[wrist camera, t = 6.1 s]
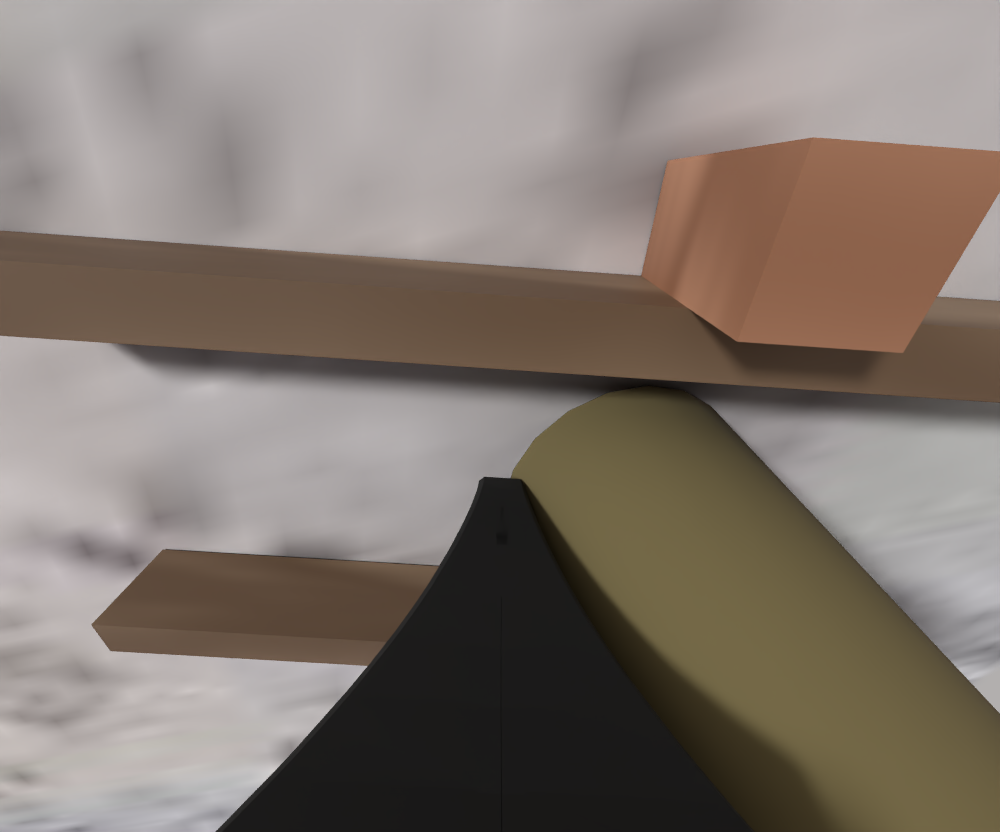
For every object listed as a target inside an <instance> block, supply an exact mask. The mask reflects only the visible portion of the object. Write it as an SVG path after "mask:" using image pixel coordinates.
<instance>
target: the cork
mask: <svg viewBox="0 0 1000 832" xmlns="http://www.w3.org/2000/svg"><path fill="white" fill-rule="evenodd" d="M511 479H521V480H522V482H523V484H524V485H525V488H526V491H527V495H528V498H529V501H530V504H531V506H532V509H533V512H534V514H535V517H536V519H537V521H538V524H539V526H540V528H541V531H542V533H543V535H544V537H545V539H546V541H547V543H548V545H549V548H550V550H551V552H552V554H553V556H554V558H555V560H556V562H557V564H558V566H559V567H560V569H561V571H562V573H563V575H564V577H565V579H566V580H567V582H568V584H569V586H570V587H571V589H572V591H573V593H574V594H575V596H576V598H577V600H578V601H579V603H580V605H581V606H582V608H583V610H584V611H585V613H586V614H587V616H588V618H589V619H590V621H591V622H592V624H593V626H594V627H595V629H596V630H597V632H598V633H599V635H600V636H601V638H602V639H603V641H604V642H605V644H606V645H607V647H608V648H609V650H610V651H611V652H612V654H613V655H614V657H615V658H616V660H617V661H618V663H619V664H620V665H621V667H622V668H623V670H624V671H625V673H626V674H627V675H628V677H629V678H630V680H631V681H632V682H633V683H634V685H635V686H636V687H637V689H638V690H639V691H640V693H641V694H642V695H643V696H644V698H645V699H646V700H647V702H648V703H649V704H650V706H651V707H652V708H653V709H654V711H655V712H656V713H657V715H658V716H659V717H660V719H661V720H662V721H663V722H664V724H665V725H666V726H667V728H668V729H669V730H670V732H671V733H672V734H673V735H674V737H675V738H676V739H677V741H678V742H679V743H680V744H681V746H682V747H683V748H684V749H685V750H686V752H687V753H688V754H689V755H690V756H691V758H692V759H693V760H694V761H695V762H696V764H697V765H698V766H699V767H700V769H701V770H702V771H703V772H704V773H705V775H706V776H707V777H708V778H709V779H710V781H711V782H712V783H713V784H714V785H715V787H716V788H717V789H718V790H719V791H720V793H721V794H722V795H723V796H724V797H725V798H726V800H727V801H728V802H729V803H730V804H731V805H732V806H733V808H734V809H735V810H736V811H737V812H738V813H739V814H740V816H741V817H742V818H743V819H744V820H745V821H746V822H747V824H748V825H749V826H750V827H751V828H752V829H753V830H754V832H1000V713H999V712H998V711H997V710H996V709H995V708H994V707H993V706H992V705H991V704H990V703H989V702H988V701H987V700H986V699H985V698H984V697H983V695H982V694H981V693H980V692H979V691H978V690H977V689H976V688H975V687H974V686H973V685H972V684H971V683H970V682H969V680H968V679H967V678H966V677H965V676H964V675H963V674H962V673H961V672H960V671H959V670H958V669H957V668H956V667H955V666H954V664H953V663H952V662H951V661H950V660H949V659H948V658H947V657H946V656H945V655H944V654H943V653H942V652H941V651H940V650H939V649H938V647H937V646H936V645H935V644H934V643H933V642H932V641H931V640H930V639H929V638H928V637H927V636H926V635H925V634H924V633H923V632H922V630H921V629H920V628H919V627H918V626H917V625H916V624H915V623H914V622H913V621H912V620H911V619H910V618H909V617H908V616H907V614H906V613H905V612H904V611H903V610H902V609H901V608H900V607H899V606H898V605H897V604H896V603H895V602H894V601H893V600H892V599H891V597H890V596H889V595H888V594H887V593H886V592H885V591H884V590H883V589H882V588H881V587H880V586H879V585H878V584H877V583H876V582H875V580H874V579H873V578H872V577H871V576H870V575H869V574H868V573H867V572H866V571H865V570H864V569H863V568H862V567H861V566H860V564H859V563H858V562H857V561H856V560H855V559H854V558H853V557H852V556H851V555H850V554H849V553H848V552H847V551H846V550H845V549H844V547H843V546H842V545H841V544H840V543H839V542H838V541H837V540H836V539H835V538H834V537H833V536H832V535H831V534H830V533H829V532H828V530H827V529H826V528H825V527H824V526H823V525H822V524H821V523H820V522H819V521H818V520H817V519H816V518H815V517H814V516H813V514H812V513H811V512H810V511H809V510H808V509H807V508H806V507H805V506H804V505H803V504H802V503H801V502H800V501H799V500H798V499H797V497H796V496H795V495H794V494H793V493H792V492H791V491H790V490H789V489H788V488H787V487H786V486H785V485H784V484H783V483H782V482H781V480H780V479H779V478H778V477H777V476H776V475H775V474H774V473H773V472H772V471H771V470H770V469H769V468H768V467H767V466H766V465H765V463H764V462H763V461H762V460H761V459H760V458H759V457H758V456H757V455H756V454H755V453H754V452H753V451H752V450H751V449H750V447H749V446H748V445H747V444H746V443H745V442H744V441H743V440H742V439H741V438H740V437H739V436H738V435H737V434H736V433H735V432H734V430H733V429H732V428H731V427H730V426H729V425H728V424H727V423H726V422H725V421H724V420H723V419H722V418H721V417H720V416H719V415H718V413H717V412H716V411H715V410H714V409H713V408H712V407H711V406H710V405H708V404H706V403H705V402H703V401H701V400H699V399H698V398H696V397H694V396H693V395H691V394H689V393H688V392H686V391H684V390H677V389H669V388H662V387H655V386H643V387H638V388H632V389H626V390H621V391H615V392H609V393H606V394H604V395H602V396H600V397H598V398H596V399H593V400H591V401H589V402H587V403H585V404H583V405H581V406H579V407H576V408H574V409H572V410H570V411H568V412H567V413H566V414H564V415H563V416H562V417H561V418H560V419H558V420H557V421H556V422H555V423H553V424H552V425H551V426H550V427H549V428H547V429H546V430H545V431H544V432H543V433H541V434H540V435H539V436H538V437H537V438H535V440H534V441H533V442H532V444H531V445H530V447H529V448H528V450H527V451H526V452H525V454H524V455H523V457H522V458H521V460H520V461H519V463H518V464H517V465H516V467H515V468H514V470H513V472H512V476H511Z"/></svg>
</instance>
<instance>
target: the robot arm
mask: <svg viewBox="0 0 1000 832" xmlns="http://www.w3.org/2000/svg"><path fill="white" fill-rule="evenodd" d="M216 832H754V830H753V829H752V828H751V827H750V826H749V825H748V824H747V822H746V821H745V820H744V819H743V818H742V817H741V816H740V814H739V813H738V812H737V811H736V810H735V809H734V808H733V806H732V805H731V804H730V803H729V802H728V801H727V800H726V798H725V797H724V796H723V795H722V794H721V793H720V791H719V790H718V789H717V788H716V787H715V785H714V784H713V783H712V782H711V781H710V779H709V778H708V777H707V776H706V775H705V773H704V772H703V771H702V770H701V769H700V767H699V766H698V765H697V764H696V762H695V761H694V760H693V759H692V758H691V756H690V755H689V754H688V753H687V752H686V750H685V749H684V748H683V747H682V746H681V744H680V743H679V742H678V741H677V739H676V738H675V737H674V735H673V734H672V733H671V732H670V730H669V729H668V728H667V726H666V725H665V724H664V722H663V721H662V720H661V719H660V717H659V716H658V715H657V713H656V712H655V711H654V709H653V708H652V707H651V706H650V704H649V703H648V702H647V700H646V699H645V698H644V696H643V695H642V694H641V693H640V691H639V690H638V689H637V687H636V686H635V685H634V683H633V682H632V681H631V680H630V678H629V677H628V675H627V674H626V673H625V671H624V670H623V668H622V667H621V665H620V664H619V663H618V661H617V660H616V658H615V657H614V655H613V654H612V652H611V651H610V650H609V648H608V647H607V645H606V644H605V642H604V641H603V639H602V638H601V636H600V635H599V633H598V632H597V630H596V629H595V627H594V626H593V624H592V622H591V621H590V619H589V618H588V616H587V614H586V613H585V611H584V610H583V608H582V606H581V605H580V603H579V601H578V600H577V598H576V596H575V594H574V593H573V591H572V589H571V587H570V586H569V584H568V582H567V580H566V579H565V577H564V575H563V573H562V571H561V569H560V567H559V566H558V564H557V562H556V560H555V558H554V556H553V554H552V552H551V550H550V548H549V545H548V543H547V541H546V539H545V537H544V535H543V533H542V531H541V528H540V526H539V524H538V521H537V519H536V517H535V514H534V512H533V509H532V506H531V504H530V501H529V498H528V495H527V491H526V488H525V485H524V484H523V482H522V480H521V479H510V478H494V477H484V478H482V479H481V480H479V484H478V488H477V492H476V495H475V497H474V500H473V503H472V505H471V507H470V510H469V512H468V514H467V516H466V518H465V520H464V522H463V524H462V526H461V528H460V530H459V532H458V534H457V536H456V538H455V540H454V542H453V543H452V545H451V547H450V549H449V551H448V552H447V554H446V556H445V557H444V559H443V561H442V562H441V564H440V566H439V567H438V569H437V570H436V572H435V574H434V575H433V577H432V579H431V580H430V582H429V583H428V585H427V587H426V588H425V590H424V591H423V593H422V594H421V596H420V597H419V599H418V600H417V601H416V603H415V604H414V606H413V607H412V609H411V610H410V611H409V613H408V614H407V616H406V617H405V618H404V620H403V621H402V622H401V624H400V625H399V627H398V628H397V629H396V631H395V632H394V633H393V635H392V636H391V637H390V638H389V640H388V641H387V642H386V644H385V645H384V646H383V647H382V649H381V650H380V651H379V652H378V654H377V655H376V656H375V658H374V659H373V660H372V661H371V663H370V664H369V665H368V666H367V668H366V669H365V670H364V671H363V673H362V674H361V675H360V676H359V677H358V679H357V680H356V681H355V682H354V683H353V685H352V686H351V687H350V688H349V689H348V691H347V692H346V693H345V694H344V695H343V696H342V697H341V698H340V700H339V701H338V702H337V703H336V704H335V705H334V706H333V707H332V709H331V710H330V711H329V712H328V713H327V714H326V715H325V716H324V718H323V719H322V720H321V721H320V722H319V723H318V724H317V725H316V727H315V728H314V729H313V730H312V731H311V732H310V733H309V734H308V736H307V737H306V738H305V739H304V740H303V741H302V742H301V743H300V745H299V746H298V747H297V748H296V749H295V750H294V751H293V752H292V753H291V754H290V756H289V757H288V758H287V759H286V760H285V761H284V762H283V763H282V764H281V765H280V766H279V767H278V768H277V769H276V771H275V772H274V773H273V774H272V775H271V776H270V777H269V778H268V779H267V780H266V781H265V782H264V783H263V784H262V785H261V786H260V787H259V788H258V789H257V790H256V791H255V792H254V793H253V794H252V795H251V796H250V797H249V798H248V799H247V800H246V801H245V802H244V803H243V804H242V805H241V806H240V807H239V808H238V809H237V810H236V811H235V812H234V813H233V814H232V815H231V817H230V818H229V819H228V820H227V821H226V822H225V823H224V824H223V825H222V826H221V827H220V828H219V829H218V830H217V831H216Z"/></svg>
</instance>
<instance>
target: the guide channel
mask: <svg viewBox="0 0 1000 832" xmlns="http://www.w3.org/2000/svg"><path fill="white" fill-rule="evenodd" d="M999 192H1000V152H999V151H986V150H973V149H960V148H946V147H933V146H920V145H906V144H893V143H880V142H867V141H853V140H840V139H827V138H807V139H801V140H795V141H788V142H782V143H776V144H770V145H763V146H757V147H751V148H744V149H738V150H732V151H725V152H719V153H713V154H707V155H700V156H694V157H688V158H681V159H675V160H669V161H668V162H667V166H666V170H665V175H664V179H663V183H662V188H661V192H660V196H659V201H658V205H657V209H656V214H655V218H654V223H653V227H652V231H651V236H650V240H649V244H648V249H647V253H646V257H645V262H644V266H643V270H642V275H641V276H636V275H622V274H608V273H594V272H579V271H565V270H551V269H537V268H522V267H508V266H494V265H480V264H466V263H451V262H437V261H423V260H409V259H395V258H380V257H366V256H352V255H338V254H323V253H309V252H295V251H281V250H267V249H252V248H238V247H224V246H210V245H196V244H181V243H167V242H153V241H139V240H125V239H110V238H96V237H82V236H68V235H53V234H39V233H25V232H11V231H0V336H14V337H29V338H44V339H59V340H74V341H89V342H103V343H118V344H133V345H148V346H163V347H178V348H193V349H208V350H223V351H238V352H253V353H268V354H282V355H297V356H312V357H327V358H342V359H357V360H372V361H387V362H402V363H417V364H432V365H447V366H462V367H476V368H491V369H506V370H521V371H536V372H551V373H566V374H581V375H596V376H611V377H626V378H641V379H655V380H670V381H685V382H700V383H715V384H730V385H745V386H760V387H775V388H790V389H805V390H820V391H834V392H849V393H864V394H879V395H894V396H909V397H924V398H939V399H954V400H969V401H984V402H999V403H1000V301H992V300H977V299H963V298H949V297H937V295H938V294H939V292H940V290H941V289H942V287H943V285H944V284H945V282H946V280H947V279H948V277H949V275H950V274H951V272H952V270H953V269H954V267H955V265H956V264H957V262H958V260H959V259H960V257H961V255H962V254H963V252H964V250H965V249H966V247H967V245H968V244H969V242H970V240H971V239H972V237H973V235H974V234H975V232H976V230H977V229H978V227H979V225H980V224H981V222H982V220H983V219H984V217H985V215H986V214H987V212H988V210H989V209H990V207H991V205H992V204H993V202H994V200H995V199H996V197H997V195H998V194H999ZM438 567H439V566H426V565H409V564H393V563H376V562H360V561H343V560H327V559H310V558H294V557H277V556H261V555H244V554H227V553H211V552H194V551H178V550H162V551H161V552H160V553H159V554H158V555H157V556H156V557H155V559H154V560H153V561H152V562H151V563H150V564H149V565H148V566H147V567H146V568H145V569H144V570H143V571H142V572H141V573H140V574H139V575H138V576H137V577H136V578H135V579H134V581H133V582H132V583H131V584H130V585H129V586H128V587H127V588H126V589H125V590H124V591H123V592H122V593H121V594H120V595H119V596H118V597H117V598H116V599H115V600H114V602H113V603H112V604H111V605H110V606H109V607H108V608H107V609H106V610H105V611H104V612H103V613H102V614H101V615H100V616H99V617H98V618H97V619H96V620H95V621H94V622H93V624H92V627H93V628H94V629H95V631H96V632H97V633H98V635H99V636H100V637H101V639H102V640H103V641H104V643H105V644H106V645H107V647H108V648H109V649H110V651H119V652H137V653H154V654H172V655H189V656H207V657H224V658H242V659H259V660H276V661H294V662H311V663H329V664H346V665H364V666H368V665H369V664H370V663H371V661H372V660H373V659H374V658H375V656H376V655H377V654H378V652H379V651H380V650H381V649H382V647H383V646H384V645H385V644H386V642H387V641H388V640H389V638H390V637H391V636H392V635H393V633H394V632H395V631H396V629H397V628H398V627H399V625H400V624H401V622H402V621H403V620H404V618H405V617H406V616H407V614H408V613H409V611H410V610H411V609H412V607H413V606H414V604H415V603H416V601H417V600H418V599H419V597H420V596H421V594H422V593H423V591H424V590H425V588H426V587H427V585H428V583H429V582H430V580H431V579H432V577H433V575H434V574H435V572H436V570H437V569H438Z"/></svg>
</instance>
